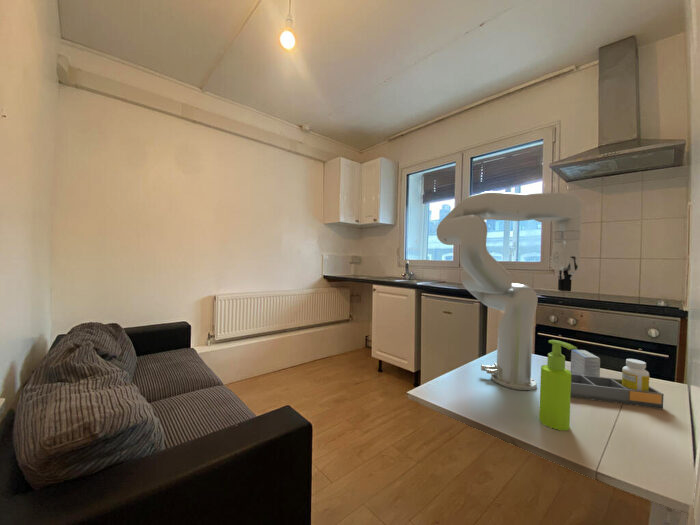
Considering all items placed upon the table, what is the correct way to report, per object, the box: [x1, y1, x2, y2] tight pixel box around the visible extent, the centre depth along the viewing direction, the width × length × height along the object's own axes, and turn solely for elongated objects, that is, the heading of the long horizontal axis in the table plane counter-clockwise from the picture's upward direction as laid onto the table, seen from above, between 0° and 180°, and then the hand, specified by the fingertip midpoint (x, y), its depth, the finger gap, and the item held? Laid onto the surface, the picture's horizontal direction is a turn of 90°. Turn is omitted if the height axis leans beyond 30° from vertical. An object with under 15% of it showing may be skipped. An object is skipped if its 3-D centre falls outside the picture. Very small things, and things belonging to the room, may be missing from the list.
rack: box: [571, 374, 664, 410], centre depth 81 cm, size 23×8×4 cm, turn 75°
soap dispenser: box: [538, 339, 578, 432], centre depth 66 cm, size 6×7×20 cm
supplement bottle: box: [621, 358, 650, 392], centre depth 80 cm, size 5×5×10 cm
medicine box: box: [570, 349, 601, 377], centre depth 93 cm, size 8×4×9 cm, turn 168°
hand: (564, 290), depth 96 cm, fingers closed
